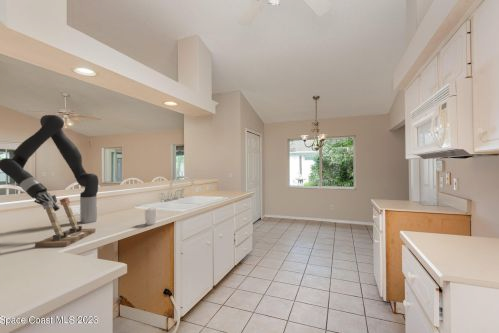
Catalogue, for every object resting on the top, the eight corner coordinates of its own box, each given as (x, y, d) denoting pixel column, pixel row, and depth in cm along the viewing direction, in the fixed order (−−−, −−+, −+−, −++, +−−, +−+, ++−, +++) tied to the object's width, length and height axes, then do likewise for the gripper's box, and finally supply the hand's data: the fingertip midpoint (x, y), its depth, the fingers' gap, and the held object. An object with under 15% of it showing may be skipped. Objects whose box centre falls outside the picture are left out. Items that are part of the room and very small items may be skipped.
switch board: (69, 232, 132) (69, 224, 132) (95, 232, 134) (95, 224, 134) (35, 247, 108) (35, 237, 108) (66, 246, 110) (66, 237, 110)
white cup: (143, 225, 148) (143, 210, 148) (145, 222, 156) (145, 208, 156) (156, 224, 150) (156, 209, 150) (158, 221, 158) (158, 207, 158)
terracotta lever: (75, 230, 128) (63, 199, 128) (80, 229, 129) (68, 197, 128) (72, 232, 125) (59, 200, 125) (77, 230, 126) (64, 198, 125)
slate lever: (60, 237, 116) (46, 202, 116) (65, 235, 117) (52, 200, 116) (55, 239, 113) (41, 203, 113) (61, 237, 114) (47, 201, 113)
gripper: (28, 183, 118) (53, 206, 120) (48, 181, 132) (70, 202, 133) (17, 193, 118) (42, 217, 119) (38, 191, 131) (61, 212, 132)
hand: (57, 209), depth 126 cm, fingers closed
